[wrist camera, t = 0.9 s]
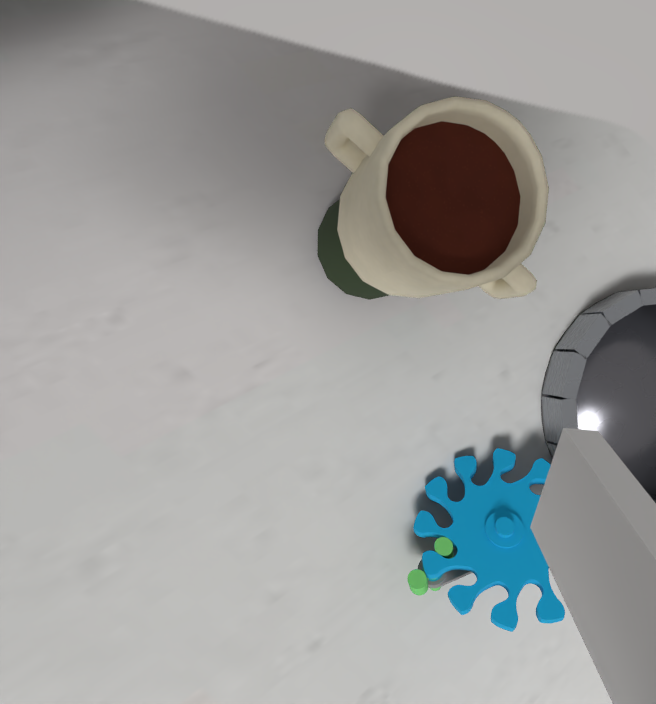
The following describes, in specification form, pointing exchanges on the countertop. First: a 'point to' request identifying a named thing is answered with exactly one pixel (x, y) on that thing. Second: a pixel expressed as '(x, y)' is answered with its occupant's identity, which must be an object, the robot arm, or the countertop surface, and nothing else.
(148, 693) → the countertop surface
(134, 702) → the countertop surface
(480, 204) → the character mug
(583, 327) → the grey round tray
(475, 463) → the gear
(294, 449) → the countertop surface
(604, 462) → the robot arm
